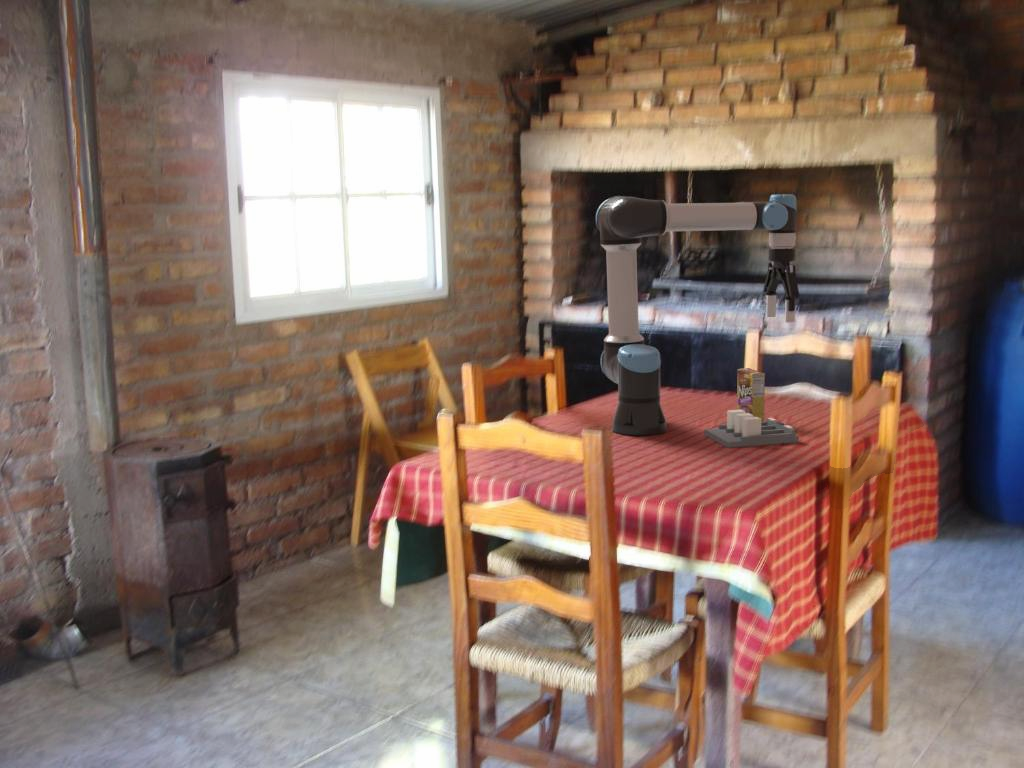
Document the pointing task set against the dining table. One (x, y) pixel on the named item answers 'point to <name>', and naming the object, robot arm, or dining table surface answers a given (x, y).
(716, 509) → the dining table surface
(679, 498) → the dining table surface
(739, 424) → the tab
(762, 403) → the candy box
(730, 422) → the tab
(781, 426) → the switch board
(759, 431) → the tab
